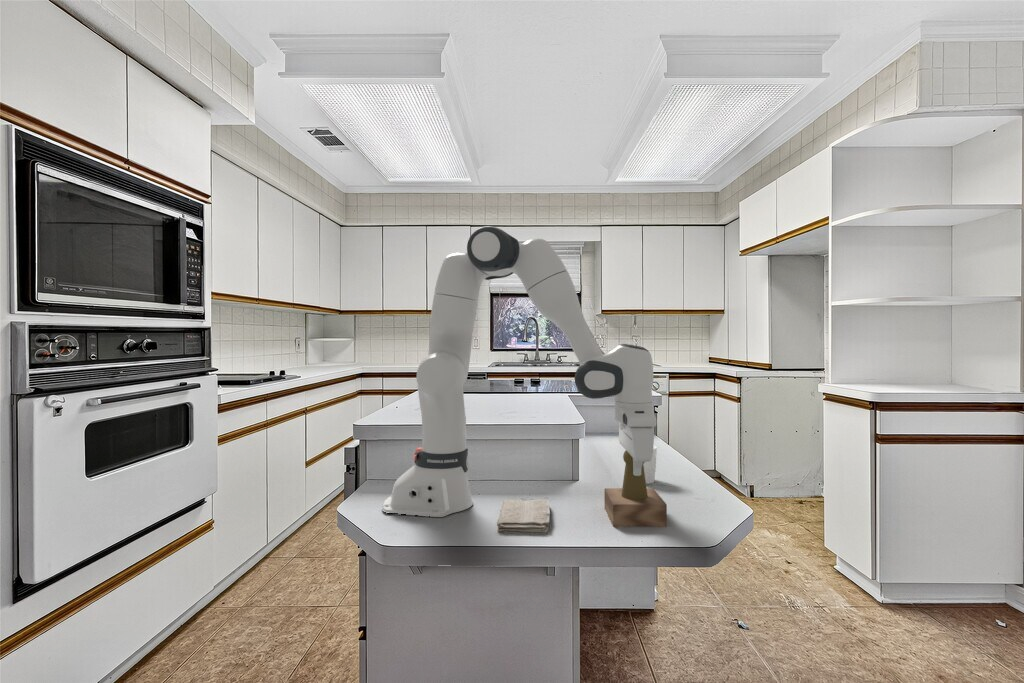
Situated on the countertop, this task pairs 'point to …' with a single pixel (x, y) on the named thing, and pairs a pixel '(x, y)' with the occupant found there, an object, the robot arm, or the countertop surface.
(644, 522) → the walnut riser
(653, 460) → the white cup
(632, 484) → the olive tapered upright piece
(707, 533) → the countertop surface
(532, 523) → the washcloth
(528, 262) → the robot arm
